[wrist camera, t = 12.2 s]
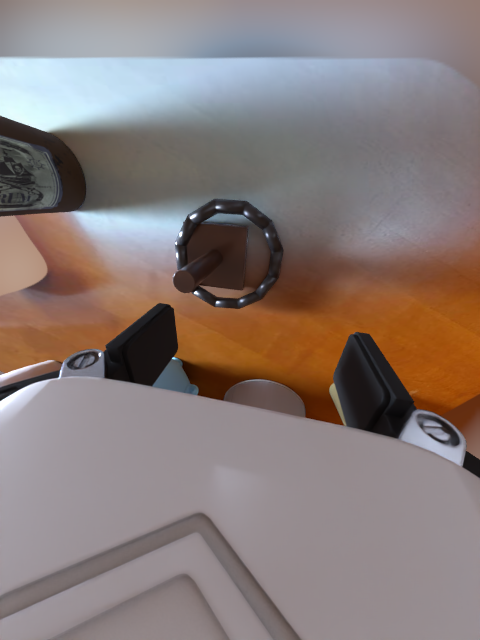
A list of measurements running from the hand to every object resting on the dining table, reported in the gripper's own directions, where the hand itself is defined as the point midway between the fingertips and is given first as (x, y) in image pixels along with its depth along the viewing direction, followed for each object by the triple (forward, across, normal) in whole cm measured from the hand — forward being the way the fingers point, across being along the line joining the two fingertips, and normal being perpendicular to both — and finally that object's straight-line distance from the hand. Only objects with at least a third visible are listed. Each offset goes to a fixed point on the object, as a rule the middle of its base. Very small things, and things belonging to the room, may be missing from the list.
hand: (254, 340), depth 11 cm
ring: (+20, +6, +1) cm, 21 cm away
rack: (+22, +8, +1) cm, 23 cm away
